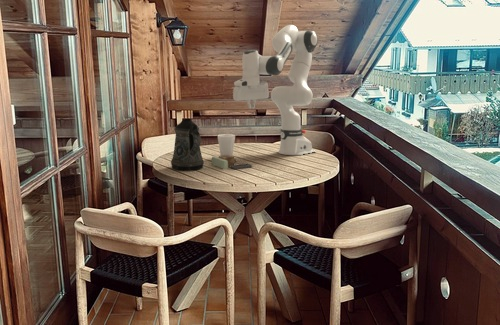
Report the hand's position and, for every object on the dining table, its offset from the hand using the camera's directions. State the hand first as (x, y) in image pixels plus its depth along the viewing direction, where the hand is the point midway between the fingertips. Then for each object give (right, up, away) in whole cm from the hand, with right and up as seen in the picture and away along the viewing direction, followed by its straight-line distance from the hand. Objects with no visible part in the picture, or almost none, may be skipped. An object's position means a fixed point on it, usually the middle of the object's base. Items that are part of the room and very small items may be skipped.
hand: (251, 108), depth 265 cm
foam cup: (-14, -27, +16) cm, 34 cm away
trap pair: (-10, -30, -1) cm, 31 cm away
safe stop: (-17, -31, -5) cm, 35 cm away
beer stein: (-31, -32, -9) cm, 46 cm away
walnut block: (-13, -30, -3) cm, 33 cm away
